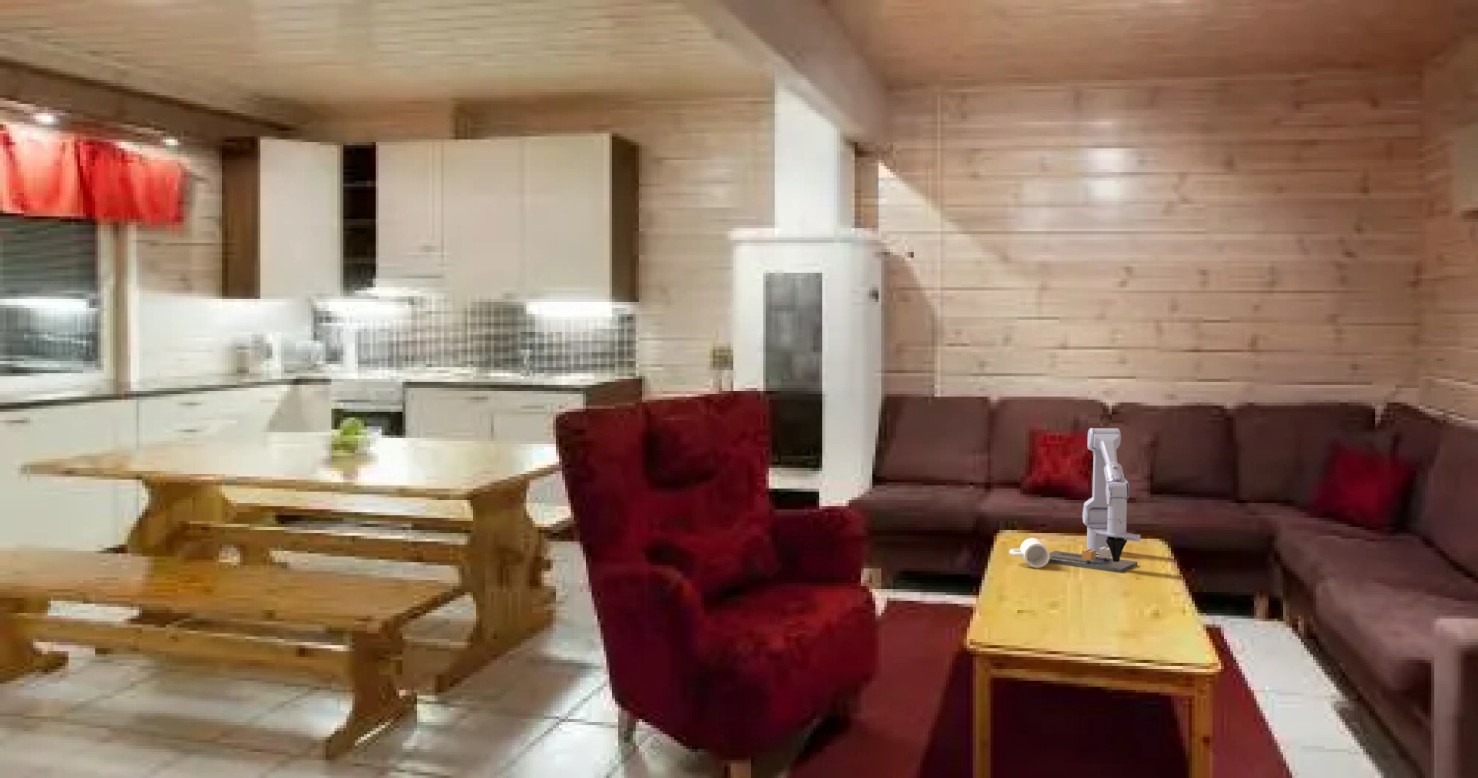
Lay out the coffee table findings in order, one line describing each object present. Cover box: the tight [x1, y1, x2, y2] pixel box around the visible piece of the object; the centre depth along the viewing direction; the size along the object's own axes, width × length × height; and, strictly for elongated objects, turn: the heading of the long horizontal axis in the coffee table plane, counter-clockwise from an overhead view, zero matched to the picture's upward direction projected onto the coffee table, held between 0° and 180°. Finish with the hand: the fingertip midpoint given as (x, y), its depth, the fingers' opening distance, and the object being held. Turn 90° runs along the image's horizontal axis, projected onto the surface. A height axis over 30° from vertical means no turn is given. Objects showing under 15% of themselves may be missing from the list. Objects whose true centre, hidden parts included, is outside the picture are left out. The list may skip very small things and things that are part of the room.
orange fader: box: [1081, 548, 1097, 562], centre depth 368 cm, size 4×3×4 cm
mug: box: [1008, 537, 1051, 569], centre depth 370 cm, size 12×10×8 cm
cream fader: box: [1098, 547, 1112, 559], centre depth 372 cm, size 4×3×4 cm
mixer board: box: [1047, 550, 1138, 574], centre depth 372 cm, size 14×28×1 cm, turn 51°
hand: (1116, 561), depth 362 cm, fingers closed
